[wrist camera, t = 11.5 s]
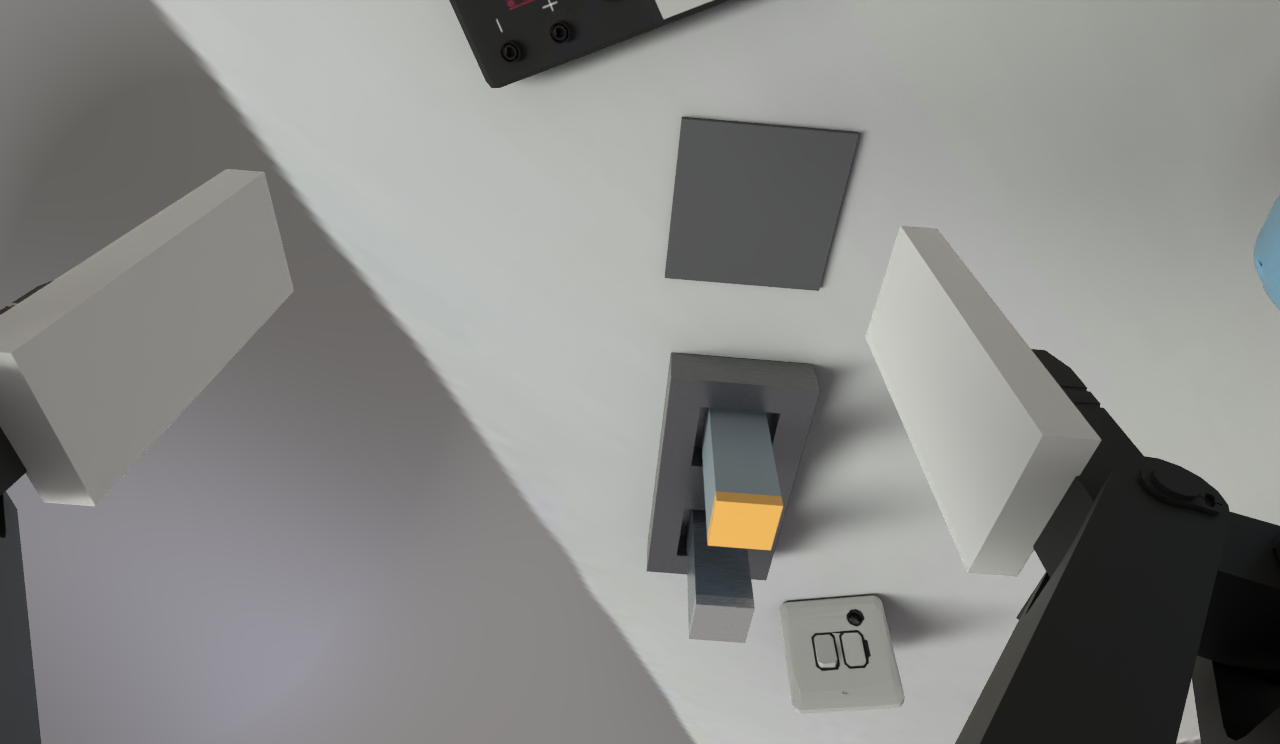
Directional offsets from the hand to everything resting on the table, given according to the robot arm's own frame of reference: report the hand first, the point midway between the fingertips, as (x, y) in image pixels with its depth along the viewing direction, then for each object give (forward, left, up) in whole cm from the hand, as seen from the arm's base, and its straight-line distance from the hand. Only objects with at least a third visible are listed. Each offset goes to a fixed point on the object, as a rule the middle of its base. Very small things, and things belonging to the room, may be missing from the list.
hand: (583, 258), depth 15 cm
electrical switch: (-22, +48, -27) cm, 59 cm away
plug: (-9, +25, -26) cm, 37 cm away
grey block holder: (-9, +30, -27) cm, 41 cm away
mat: (-8, +9, -27) cm, 29 cm away
